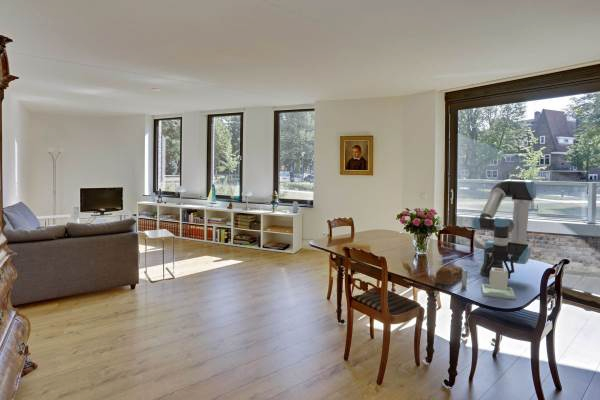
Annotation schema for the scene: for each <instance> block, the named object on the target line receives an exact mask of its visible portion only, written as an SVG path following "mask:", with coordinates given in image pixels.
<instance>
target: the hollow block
mask: <svg viewBox="0 0 600 400" xmlns="http://www.w3.org/2000/svg"><path fill="white" fill-rule="evenodd" d="M507 274H508V271H507V268H504V269H501V268H491V283H489V285H490V287H491V288H495V289H504V290H507V287H508V285H507Z"/></svg>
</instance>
